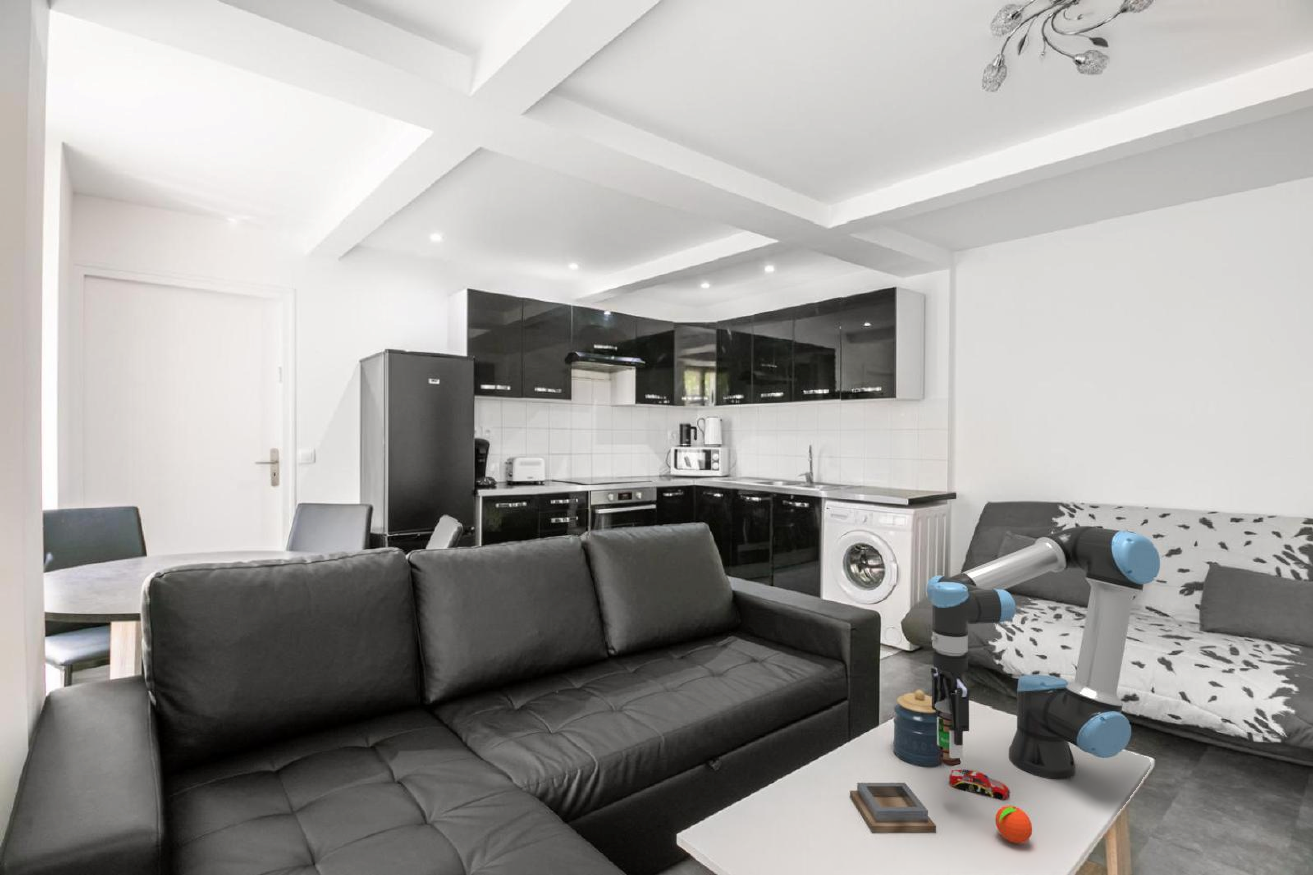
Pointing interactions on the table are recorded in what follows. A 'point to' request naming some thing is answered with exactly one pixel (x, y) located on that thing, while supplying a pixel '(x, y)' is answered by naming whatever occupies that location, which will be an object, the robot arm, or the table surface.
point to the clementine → (1013, 824)
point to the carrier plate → (896, 826)
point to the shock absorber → (945, 733)
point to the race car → (978, 784)
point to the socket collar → (892, 814)
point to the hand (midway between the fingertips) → (949, 750)
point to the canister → (916, 730)
